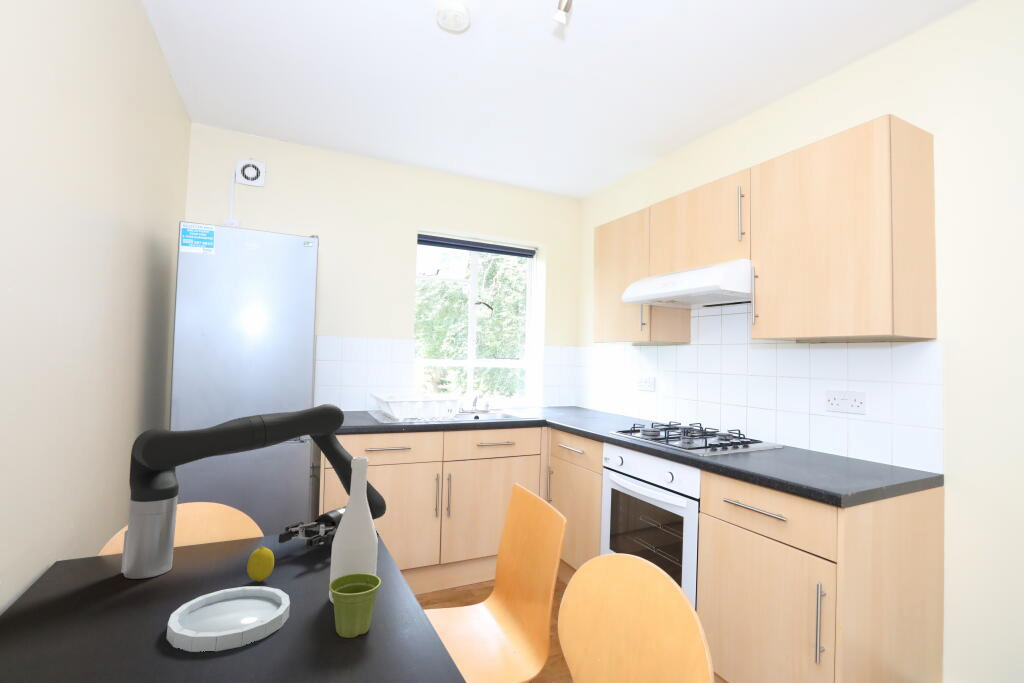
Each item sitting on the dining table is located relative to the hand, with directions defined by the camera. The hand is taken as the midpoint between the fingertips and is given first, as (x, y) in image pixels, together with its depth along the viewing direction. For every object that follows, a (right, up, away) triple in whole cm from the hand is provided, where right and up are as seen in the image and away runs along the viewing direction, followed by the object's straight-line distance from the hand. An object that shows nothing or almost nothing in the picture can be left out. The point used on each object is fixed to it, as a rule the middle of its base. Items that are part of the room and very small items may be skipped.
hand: (293, 541), depth 122 cm
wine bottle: (+20, -6, -16) cm, 26 cm away
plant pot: (+24, -5, -29) cm, 38 cm away
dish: (+1, -4, -28) cm, 28 cm away
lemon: (-3, -5, -10) cm, 12 cm away
